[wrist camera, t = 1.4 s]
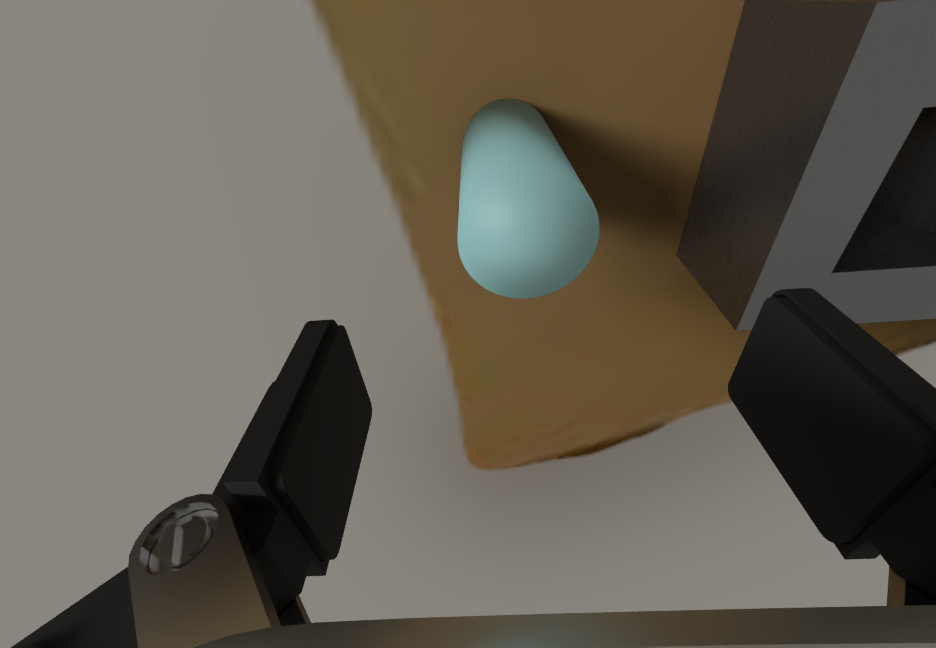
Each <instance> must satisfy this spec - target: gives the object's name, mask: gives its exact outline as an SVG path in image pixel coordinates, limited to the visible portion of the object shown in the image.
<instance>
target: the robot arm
mask: <svg viewBox="0 0 936 648" xmlns="http://www.w3.org/2000/svg"><path fill="white" fill-rule="evenodd" d="M728 392H729V396H730V398H731V400H732V401H733V403H734V404H735V406H736V407H737V409H738V410H739V412H740V413H741V415H742V416H743V418H744V419H745V421H746V422H747V424H748V425H749V427H750V428H751V430H752V431H753V433H754V434H755V436H756V437H757V439H758V440H759V442H760V443H761V445H762V446H763V448H764V449H765V451H766V452H767V453H768V455H769V457H770V458H771V460H772V461H773V463H774V464H775V465H776V467H777V469H778V470H779V472H780V473H781V475H782V476H783V478H784V479H785V481H786V482H787V484H788V485H789V487H790V488H791V490H792V491H793V493H794V494H795V495H796V497H797V498H798V500H799V502H800V503H801V504H802V506H803V507H804V509H805V511H806V512H807V513H808V515H809V516H810V518H811V520H812V521H813V523H814V524H815V525H816V527H817V528H818V530H819V531H820V533H821V534H822V535H823V537H825V538H826V539H827V540H828V541H830V542H833V543H834V544H835V545H836V547H837V548H838V550H839V551H840V553H841V554H842V556H843V557H844V559H872V558H876V557H877V556H878V555H880V554H881V555H882V557H883V558H884V559H885V561H886V562H887V563H888V565H889V578H888V593H887V606H869V607H868V606H866V607H817V608H770V609H769V608H766V609H724V610H685V611H644V612H606V613H605V612H604V613H565V614H531V615H498V616H463V617H429V618H403V619H381V620H361V621H340V622H320V623H311V621H310V619H309V617H308V615H307V612H306V610H305V608H304V606H303V603H302V601H301V598H300V596H299V594H300V593H301V592H302V589H303V585H304V582H305V578H306V576H323V575H326V571H327V567H328V563H329V560H331V559H335V558H336V557H337V555H338V553H339V549H340V545H341V541H342V537H343V533H344V529H345V525H346V521H347V516H348V512H349V508H350V504H351V499H352V496H353V492H354V487H355V483H356V479H357V475H358V470H359V467H360V462H361V458H362V454H363V450H364V446H365V442H366V438H367V433H368V430H369V425H370V421H371V417H372V406H371V402H370V399H369V396H368V393H367V390H366V387H365V384H364V381H363V378H362V375H361V372H360V370H359V367H358V364H357V361H356V358H355V355H354V352H353V349H352V346H351V343H350V340H349V338H348V335H347V332H346V329H345V327H344V326H342V325H339V326H338V325H337V323H336V322H335V321H334V320H320V321H309V322H307V323H306V324H305V326H304V328H303V330H302V332H301V333H300V336H299V337H298V339H297V341H296V343H295V345H294V347H293V349H292V351H291V352H290V354H289V356H288V358H287V360H286V362H285V364H284V366H283V368H282V370H281V372H280V374H279V376H278V377H277V379H276V381H275V382H273V383H272V384H271V386H270V387H269V389H268V390H267V393H266V394H265V396H264V398H263V400H262V402H261V404H260V405H259V407H258V409H257V411H256V413H255V415H254V417H253V419H252V421H251V422H250V424H249V426H248V428H247V430H246V432H245V434H244V435H243V437H242V439H241V441H240V443H239V445H238V447H237V449H236V451H235V452H234V454H233V456H232V458H231V460H230V462H229V464H228V466H227V468H226V469H225V471H224V473H223V475H222V477H221V479H220V481H219V483H218V484H217V486H216V488H215V490H214V492H213V494H197V495H193V496H189V497H186V498H184V499H182V500H180V501H178V502H175V503H174V504H172V505H170V506H169V507H167V508H166V509H165V510H163V511H162V512H160V513H159V514H158V515H157V516H156V517H155V518H154V519H153V520H152V521H151V522H150V523H149V524H148V525H147V526H146V527H145V528H144V529H143V531H142V532H141V534H140V535H139V536H138V538H137V539H136V541H135V543H134V545H133V547H132V550H131V552H130V555H129V563H128V567H127V568H125V569H124V570H123V571H121V572H120V573H118V574H117V575H115V576H114V577H112V578H111V579H110V580H108V581H107V582H105V583H104V584H102V585H101V586H99V587H98V588H97V589H95V590H94V591H92V592H91V593H89V594H88V595H86V596H85V597H83V598H82V599H81V600H79V601H78V602H76V603H75V604H73V605H72V606H70V607H69V608H68V609H66V610H65V611H63V612H62V613H60V614H59V615H57V616H56V617H55V618H53V619H52V620H50V621H49V622H47V623H46V624H44V625H43V626H41V627H40V628H39V629H37V630H36V631H34V632H33V633H31V634H30V635H28V636H27V637H26V638H24V639H23V640H21V641H20V642H18V643H17V644H16V645H14V646H13V647H11V648H936V388H934V387H933V386H932V385H931V384H930V383H928V382H927V381H926V380H925V379H923V378H922V377H921V376H920V375H919V374H917V373H916V372H915V371H914V370H912V369H911V368H910V367H909V366H907V365H906V364H905V363H904V362H903V361H901V360H900V359H899V358H898V357H896V356H895V355H894V354H893V353H892V352H890V351H889V350H888V349H887V348H885V347H884V346H883V345H882V344H881V343H879V342H878V341H877V340H876V339H874V338H873V337H872V336H871V335H869V334H868V333H867V332H866V331H865V330H863V329H862V328H861V327H860V326H858V325H857V324H856V323H855V322H854V321H852V320H851V319H850V318H849V317H847V316H846V315H845V314H844V313H843V312H841V311H840V310H839V309H838V308H836V307H835V306H834V305H833V304H832V303H830V302H829V301H828V300H827V299H825V298H824V297H823V296H822V295H820V294H819V293H818V292H817V291H815V290H813V289H812V288H797V289H782V290H778V291H776V292H775V293H773V295H772V296H771V297H769V298H767V299H766V300H765V302H764V303H763V305H762V308H761V310H760V312H759V315H758V317H757V319H756V321H755V324H754V326H753V328H752V331H751V333H750V335H749V338H748V340H747V342H746V344H745V347H744V349H743V351H742V354H741V356H740V358H739V360H738V363H737V365H736V367H735V370H734V372H733V374H732V377H731V379H730V381H729V384H728Z"/></svg>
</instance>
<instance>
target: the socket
mask: <svg viewBox="0 0 936 648" xmlns="http://www.w3.org/2000/svg"><path fill="white" fill-rule="evenodd" d="M677 256H678V258H679V259H680V260H681V261H682V263H683V264H684V265H685V266H686V268H687V269H688V270H689V272H690V273H691V274H692V275H693V277H694V278H695V279H696V280H697V282H698V283H699V284H700V286H701V287H702V288H703V289H704V291H705V292H706V293H707V294H708V296H709V297H710V298H711V299H712V301H713V302H714V303H715V305H716V306H717V307H718V308H719V310H720V311H721V312H722V313H723V315H724V316H725V317H726V319H727V320H728V321H729V322H730V324H731V325H732V326H733V327H734V329H735V330H736V331H741V330H752V328H753V326H754V324H755V321H756V319H757V317H758V315H759V312H760V310H761V308H762V305H763V303H764V302H765V300H766V299H767V298H769V297H771V296H772V295H773V293H775V292H776V291H778V290H782V289H797V288H812V289H813V290H815V291H817V292H818V293H819V294H820V295H822V296H823V297H824V298H825V299H827V300H828V301H829V302H830V303H832V304H833V305H834V306H835V307H836V308H838V309H839V310H840V311H841V312H843V313H844V314H845V315H846V316H847V317H849V318H850V319H851V320H852V321H854V322H855V323H873V322H889V321H906V320H922V319H936V0H745V3H744V7H743V11H742V14H741V18H740V22H739V26H738V29H737V33H736V37H735V41H734V44H733V48H732V52H731V55H730V59H729V63H728V67H727V70H726V74H725V78H724V82H723V85H722V89H721V93H720V96H719V100H718V104H717V108H716V111H715V115H714V119H713V122H712V126H711V130H710V134H709V137H708V141H707V145H706V149H705V152H704V156H703V160H702V163H701V167H700V171H699V175H698V178H697V182H696V186H695V189H694V193H693V197H692V201H691V204H690V208H689V212H688V216H687V219H686V223H685V227H684V230H683V234H682V238H681V242H680V245H679V249H678V253H677Z"/></svg>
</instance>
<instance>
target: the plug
mask: <svg viewBox="0 0 936 648" xmlns="http://www.w3.org/2000/svg"><path fill="white" fill-rule="evenodd" d="M598 238H599V218H598V214H597V210H596V208H595V206H594V203H593V201H592V200H591V198H590V196H589V195H588V193H587V191H586V190H585V188H584V186H583V184H582V183H581V181H580V179H579V178H578V176H577V174H576V173H575V171H574V169H573V167H572V166H571V164H570V162H569V161H568V159H567V157H566V156H565V154H564V152H563V151H562V149H561V147H560V145H559V144H558V142H557V140H556V139H555V137H554V135H553V134H552V132H551V130H550V129H549V127H548V125H547V123H546V122H545V120H544V118H543V117H542V115H541V114H540V113H539V112H538V111H537V110H536V109H535V108H534V107H533V106H531V105H530V104H528V103H526V102H524V101H521V100H517V99H500V100H496V101H493V102H491V103H489V104H487V105H485V106H484V107H482V108H481V109H480V110H479V111H478V112H477V113H476V114H475V115H474V116H473V117H472V119H471V120H470V122H469V123H468V125H467V127H466V130H465V133H464V137H463V144H462V162H461V182H460V201H459V221H458V249H459V255H460V257H461V260H462V263H463V265H464V267H465V269H466V270H467V272H468V273H469V274H470V276H471V277H472V278H473V279H474V280H475V281H476V282H477V283H478V284H480V285H481V286H482V287H484V288H486V289H487V290H489V291H491V292H493V293H495V294H498V295H501V296H505V297H510V298H534V297H539V296H544V295H547V294H550V293H552V292H555V291H557V290H559V289H561V288H562V287H564V286H566V285H567V284H569V283H570V282H571V281H573V280H574V279H575V278H576V277H577V276H578V275H579V274H581V272H582V271H583V270H584V269H585V268H586V266H587V265H588V263H589V262H590V260H591V258H592V256H593V254H594V252H595V249H596V247H597V243H598Z"/></svg>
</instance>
